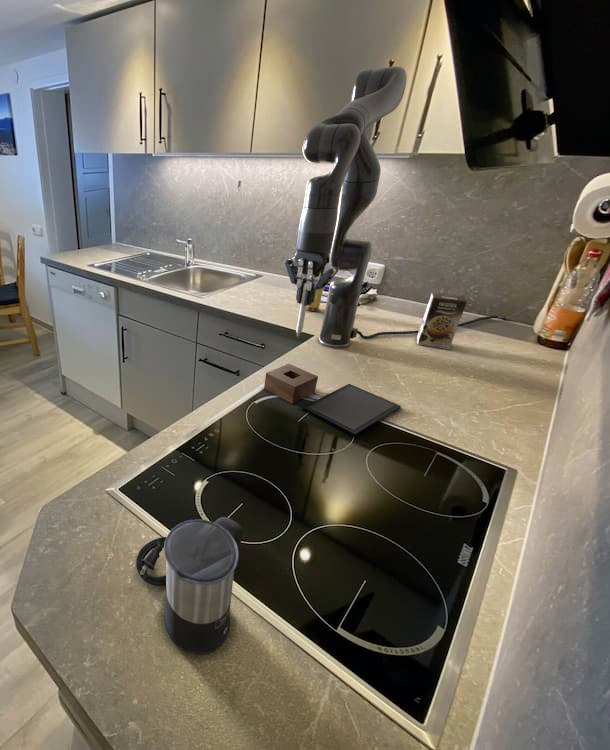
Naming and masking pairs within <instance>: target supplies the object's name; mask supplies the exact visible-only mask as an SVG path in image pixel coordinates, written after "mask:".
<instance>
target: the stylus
mask: <svg viewBox="0 0 610 750" xmlns="http://www.w3.org/2000/svg"><path fill="white" fill-rule="evenodd" d="M306 290H307V283H304V288H303V294H302V300H301V304H300V307H299V312H298V318H297V324H296V330H295V333H296V337H297V338H300V337H301V334H302V333H303V329H304V323H305V317H306V313H307V310H306V307H307V306H306V305H304V299H305V293H306Z"/></svg>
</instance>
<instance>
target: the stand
mask: <svg viewBox="0 0 610 750" xmlns="http://www.w3.org/2000/svg"><path fill="white" fill-rule="evenodd" d="M264 377H265V379H264V385H263V390H264V391H267V392H269V393H271V394H273V395H274V396H277V397H278V398H280V399H282V400H284V401H286V402H288V403H290V404H292V405H293V404H294V403H297V402H299V401H301V400H303V399H305V398H308V397H309V396H311V395H313V394H315V393H316V390H317V389H316V388H317V384H318V379H319V376H318V375H316V374H314V373H311V372H309V371H307V370H305V369H302V368H300V367H298V366H296V365H293V364H291V363H286V364H285V365H282V366H279V367H276V368H273V369H272V370H270V371H268V372H265V376H264Z"/></svg>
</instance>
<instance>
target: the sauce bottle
mask: <svg viewBox="0 0 610 750" xmlns="http://www.w3.org/2000/svg"><path fill="white" fill-rule="evenodd" d="M324 270H325V269H324ZM324 270H323V271H322V272H321V276H320V278H321V277H322V276H323V275H324V274H323V272H324ZM323 292H324V288H321V289H318V290H316V292H315V297H314V302H313V303H311V305H308V306H307V307H306V311H308V312H316V311H318V310H319V308H320V306H321V301H322V297H323Z"/></svg>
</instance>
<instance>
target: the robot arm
mask: <svg viewBox="0 0 610 750" xmlns="http://www.w3.org/2000/svg"><path fill="white" fill-rule="evenodd" d="M407 80H408V79H407V71H406V70H405V68H403V66H387V67H386V66H385V67H374V68H365V69H361V70H360V71H359V72H358V73H357V74H356V76H355V78H354V81H353V83H352V89H351V93H350V101H349V102H348V103H347V104H345V106H343V107H342V108H341V109H340V110H339V111H338V112H337V113H336V114H334V115H333V116H330V117H328V118H326V119H323V120H321V121H319V122H317V123H315V124H314V125H313V126H312V127H311V128H310V129H309V131H308V132H307V134H306V136H305V137H304V140H303V143H302V154H303V156H304V158H305V160H306V161H307V162H309V163H310V164H321V165H322V164H323V165H324V164H325V165H327V164H329V165H331V164H332V165H333V164H334V165H333V167H332V169H331V170H330V171H329V172H328V173H326V174H324V175H323V174H322V175H318V176H314V177H311V178H309V179H308V180H307V182H306V187H305V195H304V202H303V207H302V211H301V215H300V219H299V226H298V231H297V239H296V246H295V249H296V252H295V253H294V257H292V258H288V259H285V260H284V264H285V268H286V271H287V274H288V278H289V280H290V283H291V284H293V285H295V286H296V288H297V289H296V296H295V301H296V303H297V304H300V305H301V300H302V294H303V288H304V283H307V290H306V293H305V299H304V305H306V306H308V305H311V303H313V302H314V297H315V292H316V290H318V289H321V288H323V289H324V288H325V287H327V285H328V284H329V283H330V282H331V283H330V284H329V288H328V293H327V298H326V304H325V308H324V313H323V319H322V322H321V323H322V324H321V328H320V333H319V337H318V342H319V343H320V344H322V345H324V346H326V347H330V348H346V347H348V346H349V345H350V342H351V339H354V338H357V335H359V337H360V338H362V339H365V340H366V339H369V340H370V339H373V338H375V337H376V338H377V337H378V336H385V335H414V334H418V333H419V330H420V329H418V330H402V331H401V330H400V331H380V332H376V333H373V334H371V335H364V334H363V333H362V332H361V331H360V330H359V329H358V328H356V327H354V325H355V321H356V314H357V310H358V305H359V300H360V297H361V293H362V288H363V283H364V279H365V276H366V272H367V269H368V265H369V262H370V259H371V256H372V250H373V245H372V243H371V242H370V241H367V240H361V239H360V240H359V239H347V235H348V232H349V231H350V229H351V228H352V226H353V224H354V223H355V222H356V220H357V219H358V218H359V217H360V216H361V215H362V214H363V213H364V211H366V210H367V208H368V207H369V206H370V205H371V204H372V202H373V201H374V200H375V198H376V196H377V194H378V189H379V184H380V183H379V182H380V179H381V178H380V177H381V172H382V171H381V170H382V168H381V163H380V161H379V158H378V156H377V154H376V151H375V150H374V147H373V146H372V144H371V141H370V139H369V136H368V135H369V134H368V131H367V130H368V129H369V128H370V127H371V126H372V125H373V124H375V123H377V122H379V121H380V120H381V119H383V118H384V117H387V116H388V115H389V114H391V113H392V112H394V111H395V110H396V109H397V108H398V107H399V105H400V103H401V102H402V101H403V98H404V95H405V91H406V86H407ZM323 270H324V272H323V274H324V275H323V276H322V277H321V278H320V276H321V272H322V271H323ZM339 271H341V272H350V273H352V275H350V276H348V277H346V278H341V279H336V280H333V278H334V277H335V276H336V275H337V274H338V272H339ZM331 280H333V281H331ZM496 315H497V314H495V315H494V314H493V315H489V316H482V317H478V318H476V319H472V320H469V321H464V322H461V323H459V324H458V327H457V328H460V327H464V326H467V325H471V324H474V323H476V322H479V321H485V320H486V321H487V320H491V319H499V318H498V316H496ZM500 319H501V320H502V321H507V318H506V317H505V318H500Z"/></svg>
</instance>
